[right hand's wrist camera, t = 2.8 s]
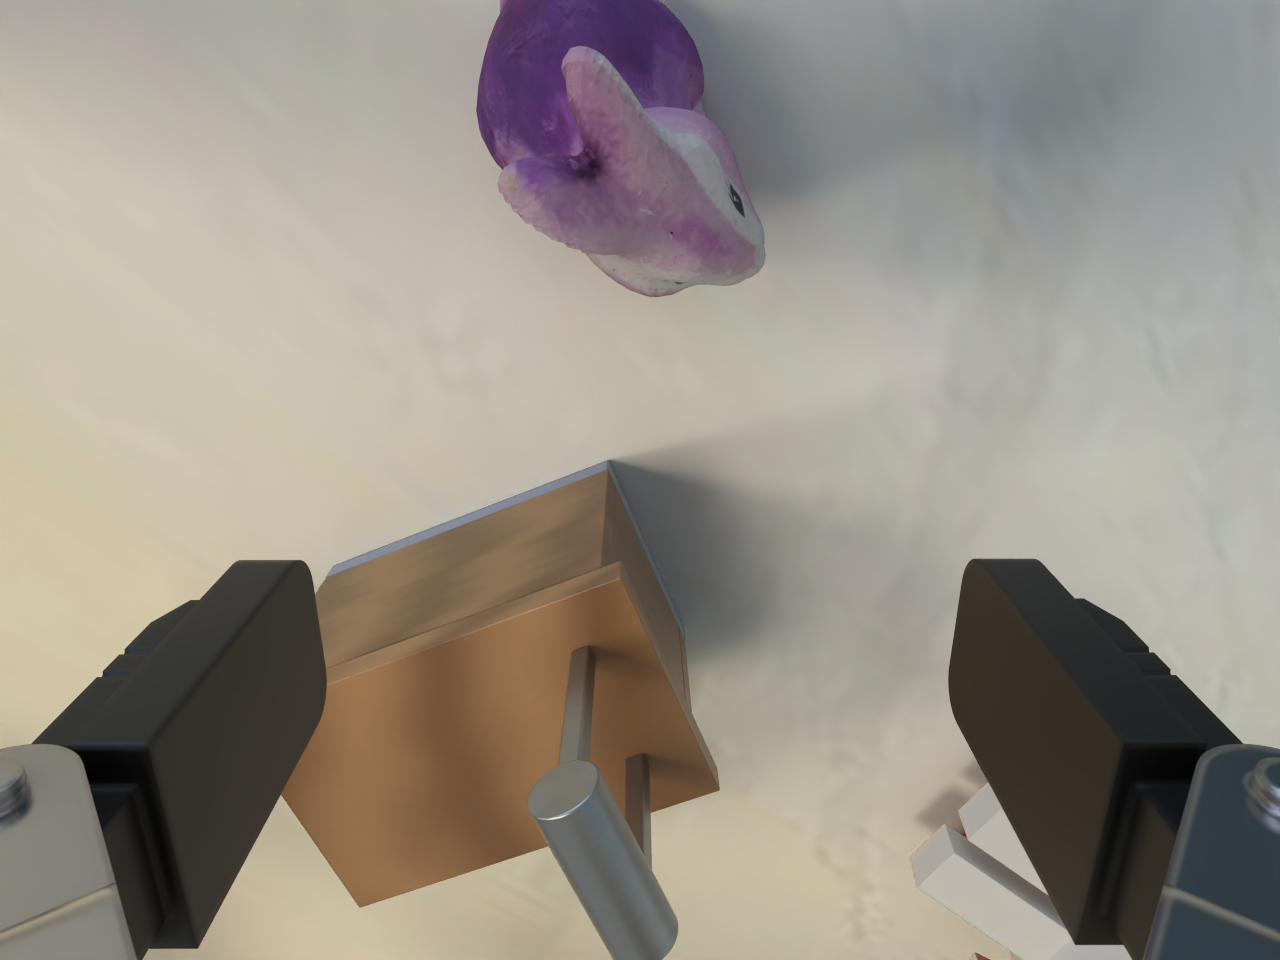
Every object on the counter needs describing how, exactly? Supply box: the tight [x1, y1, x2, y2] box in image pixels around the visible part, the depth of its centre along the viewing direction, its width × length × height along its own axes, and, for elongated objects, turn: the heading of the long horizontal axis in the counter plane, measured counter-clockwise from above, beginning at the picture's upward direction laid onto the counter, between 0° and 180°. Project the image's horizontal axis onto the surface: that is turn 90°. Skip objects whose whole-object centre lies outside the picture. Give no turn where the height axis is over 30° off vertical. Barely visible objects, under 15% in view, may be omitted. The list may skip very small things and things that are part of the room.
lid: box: [281, 561, 720, 960], centre depth 29 cm, size 15×10×9 cm, turn 112°
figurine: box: [476, 0, 765, 297], centre depth 29 cm, size 9×10×15 cm
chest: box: [315, 460, 692, 713], centre depth 39 cm, size 14×10×11 cm
